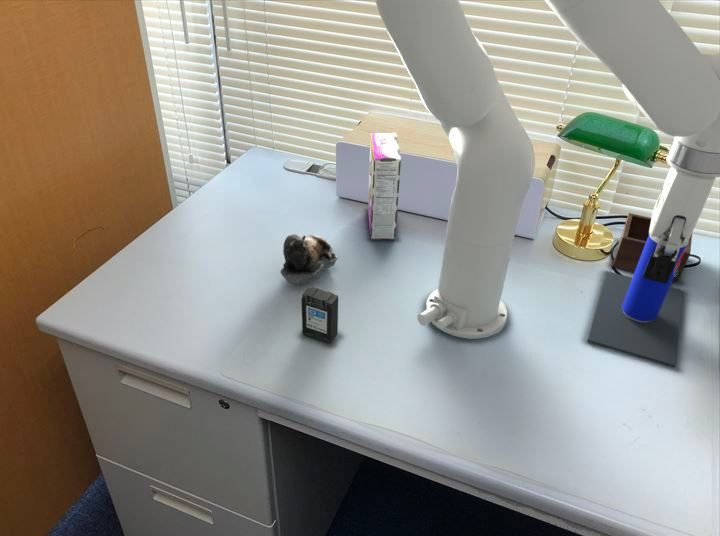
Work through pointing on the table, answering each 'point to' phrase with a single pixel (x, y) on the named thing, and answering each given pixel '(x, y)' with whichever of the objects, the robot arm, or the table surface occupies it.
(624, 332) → the desk mat
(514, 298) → the table surface
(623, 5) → the robot arm
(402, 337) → the table surface
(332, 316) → the ink cartridge
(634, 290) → the beverage can
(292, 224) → the table surface
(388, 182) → the candy bar box
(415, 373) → the table surface
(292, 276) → the bison figurine
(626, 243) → the brown wooden box
